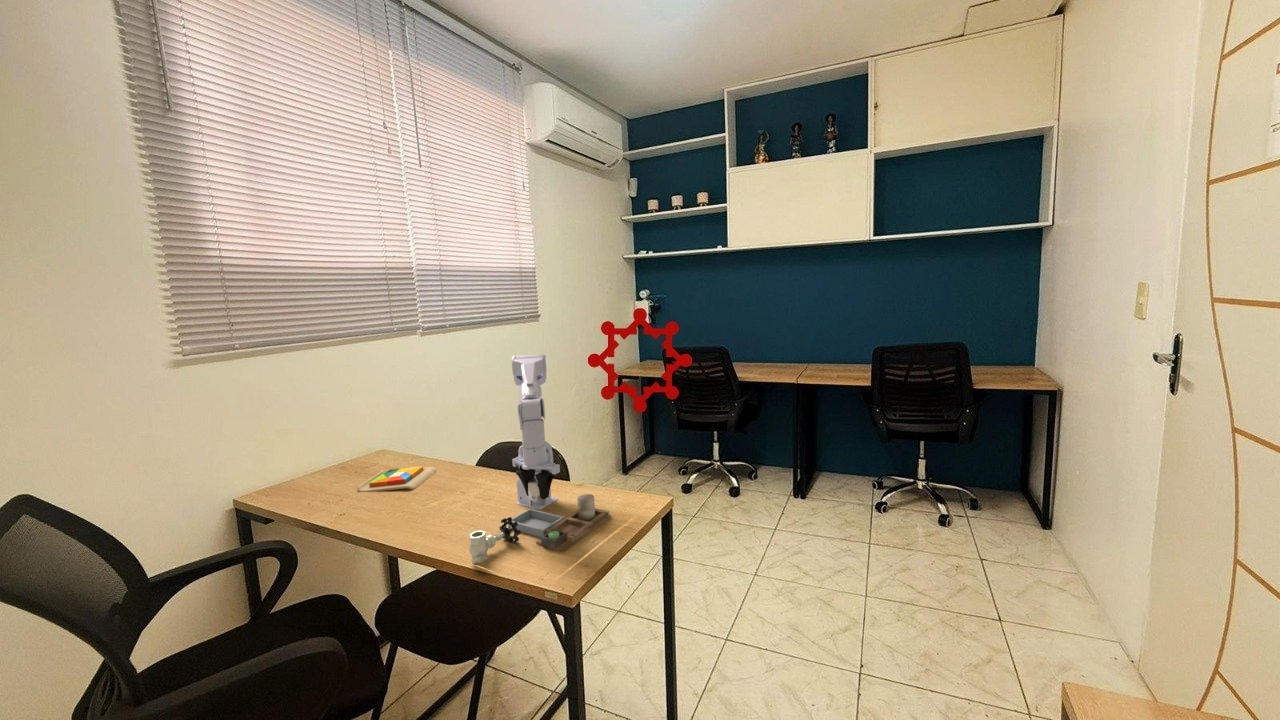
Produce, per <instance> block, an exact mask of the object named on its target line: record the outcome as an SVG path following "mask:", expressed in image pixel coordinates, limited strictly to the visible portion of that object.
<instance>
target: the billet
mask: <svg viewBox="0 0 1280 720" xmlns="http://www.w3.org/2000/svg"><path fill="white" fill-rule="evenodd" d="M528 494H529V505H530V506H533V507H538V506H542V505H544V504H546V503H547V500H546V499H544V500H543V499H541V496H540V488H539V484H538V481H537V479H536V478H532V479H530V480H528Z"/></svg>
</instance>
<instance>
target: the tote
mask: <svg viewBox="0 0 1280 720" xmlns="http://www.w3.org/2000/svg"><path fill="white" fill-rule="evenodd" d="M511 518H512V522H513V523H514V522H517V523H518V526H516V528H517V530H520V531H521V533H523V534H527V535H531V536H533V537H537V538H539V539H541V537H542V536H543V535H545V534H546V530H547V529H549V528H550V527H552V526H553V525H555V524H556V523H558V522H560V521H561V520H563V519H564V518H565V516H562V515H558V514H553V513H549V512H546V511H543V510H542V511H541V510H539V509H535V508H528V509H526V510H525V511H522V512H520V513H519V514H517V515H516V516H514V517H511ZM508 527H512V526H511V525H509V524H507V528H508Z"/></svg>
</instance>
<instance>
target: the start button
mask: <svg viewBox="0 0 1280 720" xmlns="http://www.w3.org/2000/svg"><path fill="white" fill-rule="evenodd" d="M548 536H549V538H550V539H554V540H555V539H557V538H558V537H559V532H558V531H552V532H550V533H549V534H548Z"/></svg>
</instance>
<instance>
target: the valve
mask: <svg viewBox="0 0 1280 720" xmlns="http://www.w3.org/2000/svg"><path fill="white" fill-rule="evenodd" d="M512 518H513V517H511V516H509V517H507V518H503V519H501V521H500V523H501V524H502V525H500V526H499V527H498V528H499V532H497V533H496V534H493V535H491V534H488V535H487V534H486V531H484V530H476V531H474V532H472V533H470V534H469V541H470V542H469V547H468V551H469V554H470V556H471V561H472V565H474V566H475V565H477V564H482V563H483V562H486V561H487V560H489V557H488V551H489V550H490V549H492V548H494V547H495V546H496V543H497V542H499V541H501V540H502V539H503V540H505V541H507V542H508V543H512V542H513V543H517V542H519V541H520V537H518V536H520V535H521V534H522V532H521V531H520V530H517V528H516V526H518V523H517V522H514V523H513V522H512ZM508 524H509V525H511V526H512V527H508ZM511 534H513V536H512V535H511Z"/></svg>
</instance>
